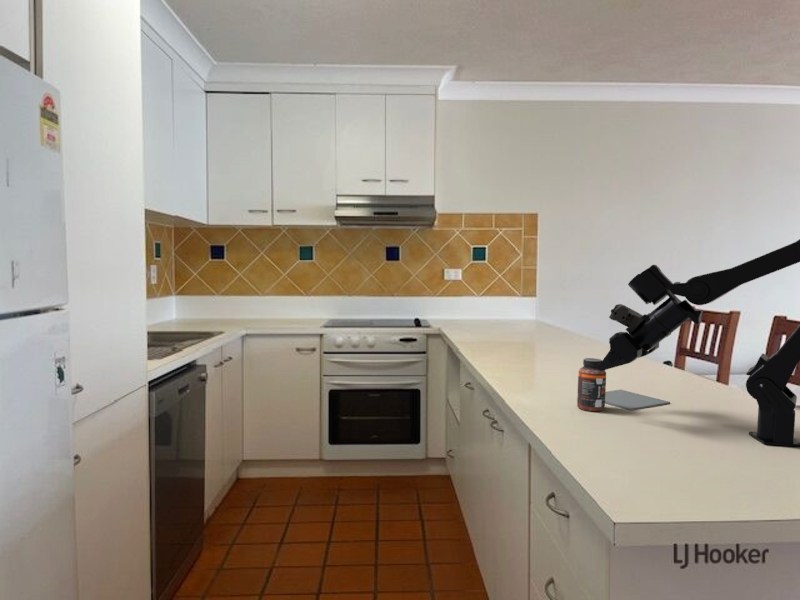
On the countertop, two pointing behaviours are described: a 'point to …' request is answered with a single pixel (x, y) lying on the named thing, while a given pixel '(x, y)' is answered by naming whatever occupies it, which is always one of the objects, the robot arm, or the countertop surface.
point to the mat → (631, 400)
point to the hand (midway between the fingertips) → (606, 366)
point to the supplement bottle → (591, 386)
